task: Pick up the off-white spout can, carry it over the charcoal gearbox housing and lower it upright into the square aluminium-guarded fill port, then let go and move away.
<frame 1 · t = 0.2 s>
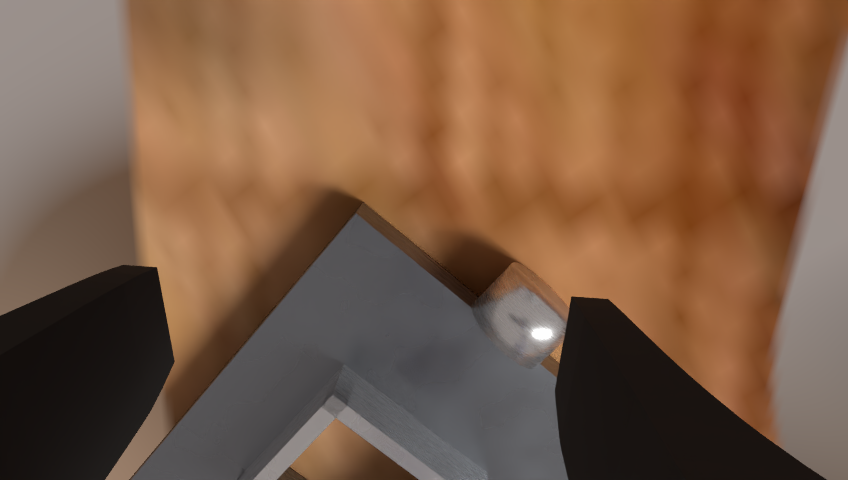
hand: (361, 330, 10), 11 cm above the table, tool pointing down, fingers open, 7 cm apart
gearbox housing: (366, 451, 24), on the table
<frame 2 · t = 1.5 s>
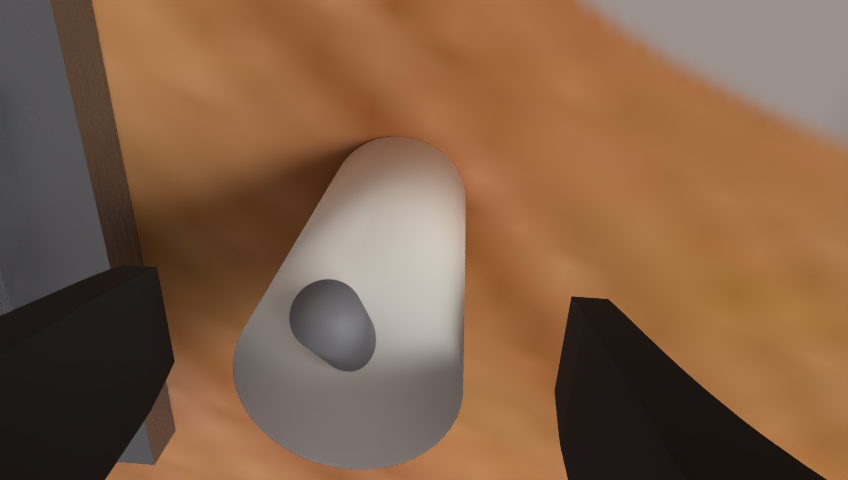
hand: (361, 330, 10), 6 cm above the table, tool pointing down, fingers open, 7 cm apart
spout can: (398, 201, 16), on the table
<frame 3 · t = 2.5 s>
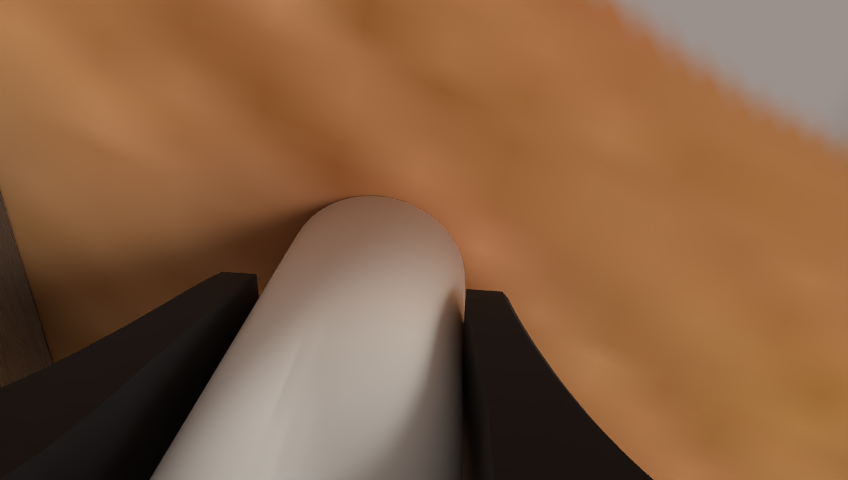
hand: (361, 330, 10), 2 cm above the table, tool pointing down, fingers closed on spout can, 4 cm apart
spout can: (376, 278, 12), on the table, touching gripper
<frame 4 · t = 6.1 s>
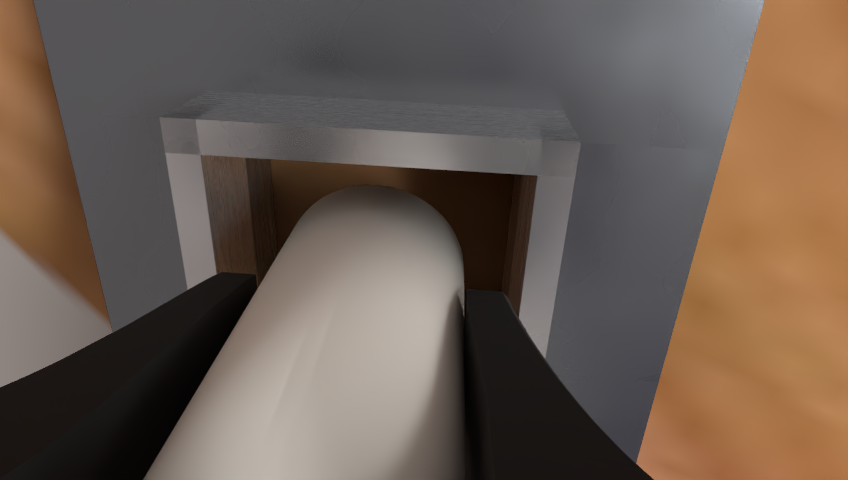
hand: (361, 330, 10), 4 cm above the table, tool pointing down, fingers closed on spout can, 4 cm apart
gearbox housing: (390, 227, 14), on the table
spout can: (375, 267, 12), point 2 cm above the table, touching gripper
when the fingers open (4 cm above the table, at t = 6.5 s): spout can drops 2 cm, resting in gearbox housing.
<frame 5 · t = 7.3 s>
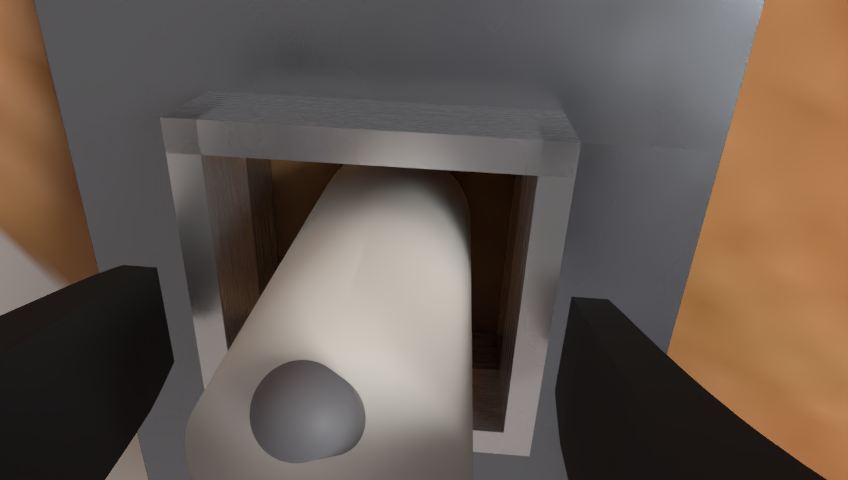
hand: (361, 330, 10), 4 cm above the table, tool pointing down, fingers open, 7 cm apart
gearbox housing: (390, 228, 14), on the table
spout can: (394, 221, 14), resting in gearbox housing
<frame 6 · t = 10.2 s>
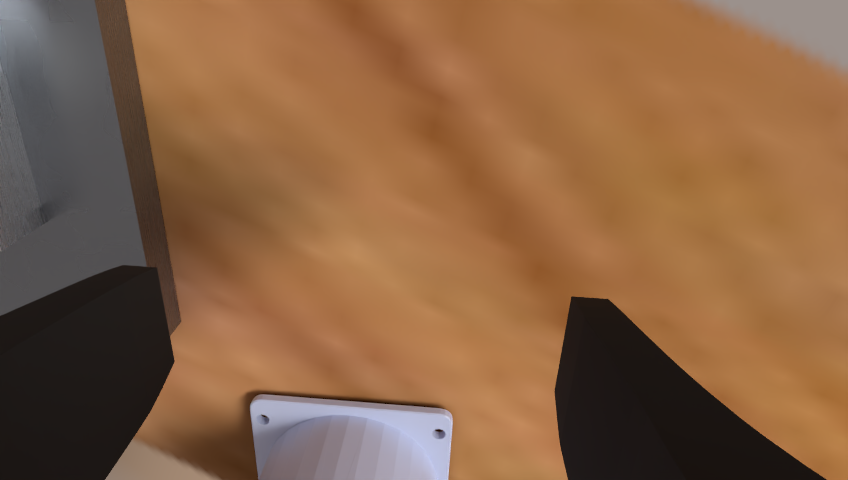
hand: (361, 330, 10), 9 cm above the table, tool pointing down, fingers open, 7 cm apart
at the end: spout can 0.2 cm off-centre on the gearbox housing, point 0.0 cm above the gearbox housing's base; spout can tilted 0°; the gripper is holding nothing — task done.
